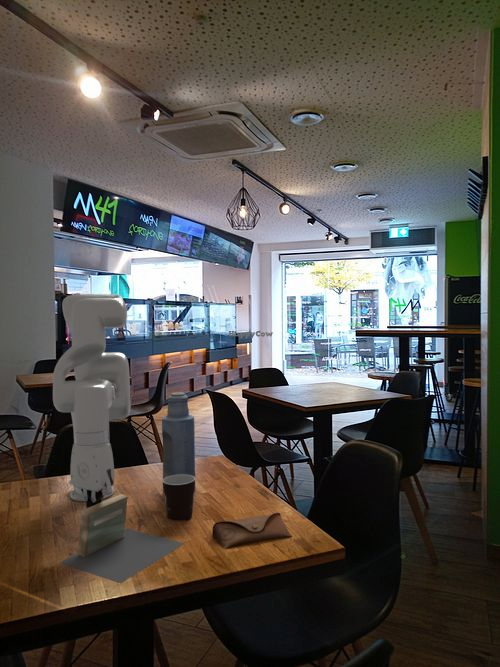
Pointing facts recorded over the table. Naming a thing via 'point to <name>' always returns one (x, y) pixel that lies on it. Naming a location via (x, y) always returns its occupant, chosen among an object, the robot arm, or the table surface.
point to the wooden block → (102, 525)
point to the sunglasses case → (250, 530)
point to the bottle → (178, 437)
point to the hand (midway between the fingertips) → (94, 516)
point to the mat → (124, 556)
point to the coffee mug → (179, 496)
